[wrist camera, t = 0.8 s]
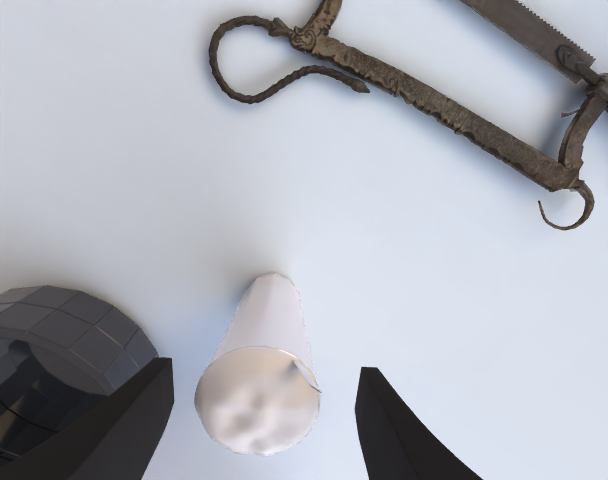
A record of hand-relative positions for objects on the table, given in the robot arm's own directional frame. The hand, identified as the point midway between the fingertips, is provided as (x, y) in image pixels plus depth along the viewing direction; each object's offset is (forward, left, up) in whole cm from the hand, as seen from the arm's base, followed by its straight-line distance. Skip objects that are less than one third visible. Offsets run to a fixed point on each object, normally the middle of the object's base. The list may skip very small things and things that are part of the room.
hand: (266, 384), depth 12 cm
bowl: (-8, +12, -8) cm, 16 cm away
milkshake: (0, 0, -8) cm, 8 cm away
